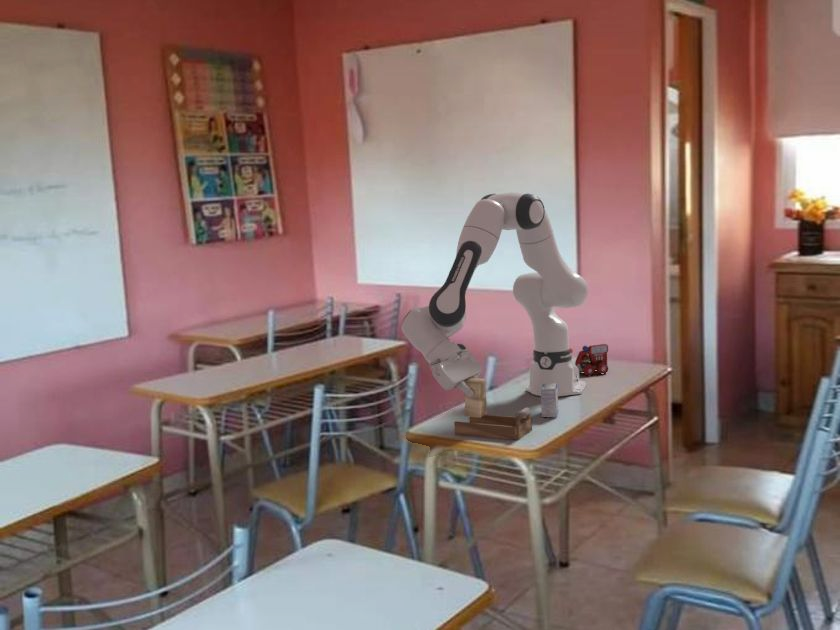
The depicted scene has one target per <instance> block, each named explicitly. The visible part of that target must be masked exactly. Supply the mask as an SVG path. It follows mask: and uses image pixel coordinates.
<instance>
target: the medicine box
mask: <svg viewBox="0 0 840 630" xmlns="http://www.w3.org/2000/svg"><path fill="white" fill-rule="evenodd" d="M540 403H541V404H540V406H541V407H540V408H541V417H542V418H543V417H548V418H547V419H549V417H553V419H554V418H555V417H557V418H558V413H559V396H558V390H557V383H546V384H543V386H542V388H541V396H540ZM555 419H556V418H555Z"/></svg>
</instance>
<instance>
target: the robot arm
mask: <svg viewBox="0 0 840 630" xmlns="http://www.w3.org/2000/svg"><path fill="white" fill-rule="evenodd" d="M503 230H505V231H512V230H514V231H515V232H516V236H517V241H518V244H519V247H520V251H521V254H522V258H523V259H522V260H523V262H524V263H525V264H526V266H527V267H528V268H530V269H532V270H534V271H535V272H528V273H523V274H520V275H518V276H517V277H516V279H515V281H514V282H513V286H512V293H513V296H514V299H515V301H517V303H518V304H520V305H521V306H522V307H523V309H524V310H525V311H526V313H527V314H528V316H529V319H530V322H531V324H532V330H533V331H532V333H533V341H534V349H533V352H532V358H533V361H534V362H533V363H532V364H531V365H530V366H529V385H528V386H526V387H525V391H526V392H529V393H531V394H532V395H534V396H539V397H541V388H542V386H543V384H546V383H557V390H558V397H566V396H571V395H574V396H575V395H581V394H582V393H583V391H584V390H585V388H586V386H587V382H586V381H584V380H580V373H579V369H578V367H577V366H576V365H575V362H574V361H573V360H572V359H573V357H572V354H573V352H574V350H573V347H570V343H569V340H570V339H569V337H570V335H569V334H570V333H569V325H568V324H567V322H566V321H565V320H563V319H562V318H560V317H559V315H557V313H556V311H555V308H561V309H562V308H563V309H569V308H574V307H575V308H576V307H579V306H582V305H583V304H584V303H585V302H586V300H587V298H588V294H589V286H588V282H587V280H585V278H584V277H583V276H581V275H579V274H578V273H577V272H575V271H574V270H573V269H572V268H571V267H570V266H569V265H568V264H567V262H565V260H564V258H563V257H562V255H561V253H560V251H559V248H558V244H557V240H556V239H555V234H554V231H553V228H552V223H551V221H550V217H549V216H548V214H547V211H546V209H545V206H544V203H543V201H542V199H541V198H540V197H539V196H537V195H535V194H532V193H519V192H507V193H506V192H504V193H490V194H486V195H485V196H482V197H481V199H480V200H478V201H477V202H476V203H475V204H474V206H473V208H472V209H471V211H470V212H469V214H468V216H467V218H466V220H465V222H464V225H463V227H462V229H461V232H460V235H459V239H458V241H457V248H456V255H455V258H454V261H453V264H452V266H451V267H450V268H451V269H450V270H449V272H448V275H447V277H446V279H445V281H444V284H443V285H441V287H440V288H439V289H438V290H437V291H435V293H434V294H433V295H432V296H431V299H430V301H429V304H428V305H427V306H422V307H413V308H412V309H411V310H409V311H408V312H407V313H406V315H405V316H404V318H403V320H402V322H401V331H402V333H403V334H404V336H405V337H406V339H407V340H408V341H409V343H410V344H411V345H412V346H413V347H414V348H415V349H416V350H418V351H419V352H420V353H421V354H422V355H423V357H424V359H425V360H426V361H427V363H428V364H429V368H430V370H431V372H432V376H433V378H434V379H435V380H436V381H437V383H438V384H439V386H440V387H442V389H444V390H445V391H447V392H449V391H451V390H453V389H456V388H457V389H458V390H459V391H460V392H463V393H466V394H467V395H468V396H469V397H472V396H473V395H474V394H475V391H474V390H473V389H472V388H469V387H468V386H467V385H465V384H466V383H465V382H464V381H465V380H468V379H470V378H479V376H480V375H481V374H482V372H483V371H484V369H483V366H482V365H481V364H480V362H479V361H478V360H477V358H476V357H475V356H474V355H473V354H472V353H471V352H469V351H468V347H467V346H466V345H465V344H464V343H458V342H455V341H452V340H451V339H450V337H452V336H453V335H455V334H456V333H458V332H460V330H462V328H463V327H464V325H465V324H466V320H467V319H466V305H467V304H466V295H467V294H466V293H467V290H468V288H469V285H470V283H471V280H472V278H473V276H474V273H475V271H476V269H477V268H478V267H479V266H481V265H484V264H486V263H488V262H489V260H490V259H491V257H492V256H493V254H494V252H495V250H496V248H497V245H498V243H499V241H500V239H501V238H500V237H501V234H502V232H503Z"/></svg>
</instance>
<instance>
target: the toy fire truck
mask: <svg viewBox="0 0 840 630" xmlns="http://www.w3.org/2000/svg"><path fill="white" fill-rule="evenodd" d="M608 352H609V345H608V344H606V343H600V344H594V345H589V346H588V345H584V346H582V350H579V352H578V354H577V357H576V358H575V361H574V364H575V365H576V366H577V367H578V369H579V372H580V373H579V374H582V373H581V372H584V373H583V374H584V375H585V376H587V375H592V374H593V375H595V373H597V374H599V373H606V372H607V373H608V370H609V366H608ZM595 370H597V372H595ZM607 373H606V374H607ZM593 375H592V376H593Z"/></svg>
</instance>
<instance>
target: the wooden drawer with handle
mask: <svg viewBox="0 0 840 630" xmlns="http://www.w3.org/2000/svg"><path fill="white" fill-rule="evenodd" d="M531 412H532V411H531V408H530V407H524V408H523V409H521V410H519V411H518V412H516V413H515V416H512V415H498V414H489V413H487V414H486V415H484V416H482V417H480V418H478V417H468V418H469V422H467V421H454V425H453V426H454V435H456V434H459V436H467V435H468V437H469V436H471V437H479V438H480V437H481V438H489V439H490V438H491V439H499V438H501V439H502V440H510V439H515V440H514V441H519V440H521V439H522V438H523V437H525V436H527V435H528V434H529V433H531V432H532V431H533V418H532V417H531ZM531 430H532V431H531ZM530 431H531V432H530ZM527 433H528V434H527ZM524 435H525V436H524ZM501 439H500V440H501Z"/></svg>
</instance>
